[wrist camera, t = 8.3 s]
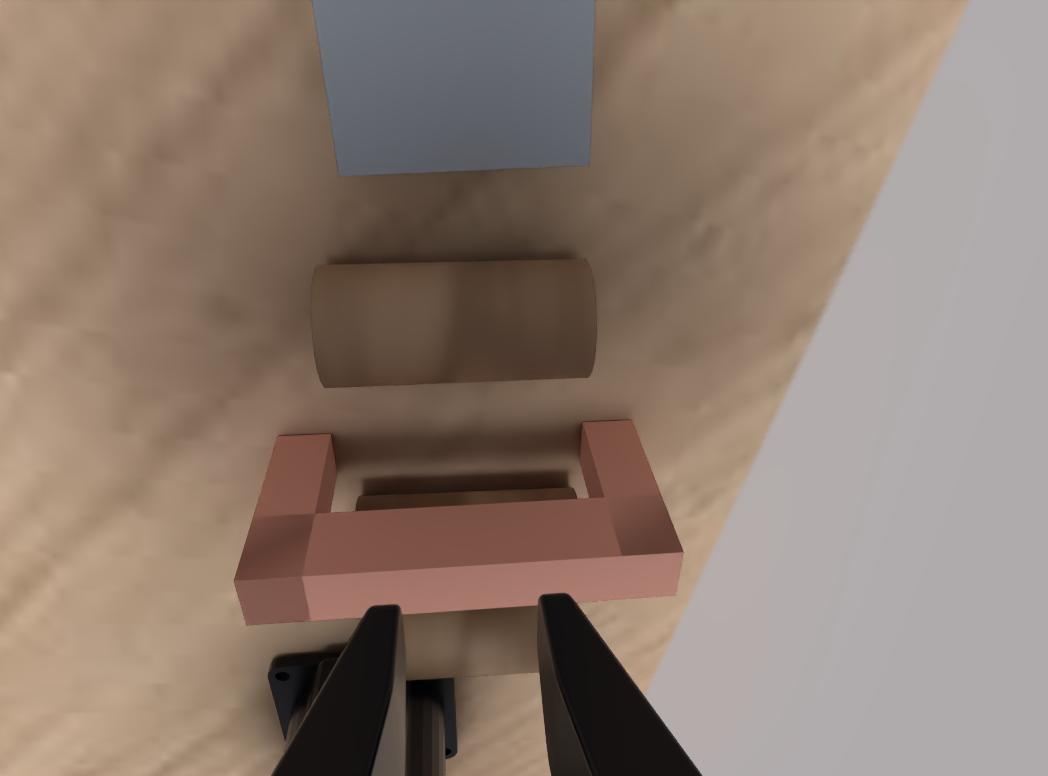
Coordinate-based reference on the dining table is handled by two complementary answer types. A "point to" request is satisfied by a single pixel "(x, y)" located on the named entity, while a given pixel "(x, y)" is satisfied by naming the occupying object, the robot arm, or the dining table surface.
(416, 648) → the roller
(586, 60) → the slab
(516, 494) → the roller
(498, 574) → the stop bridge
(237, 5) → the dining table surface
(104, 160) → the dining table surface
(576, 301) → the roller
